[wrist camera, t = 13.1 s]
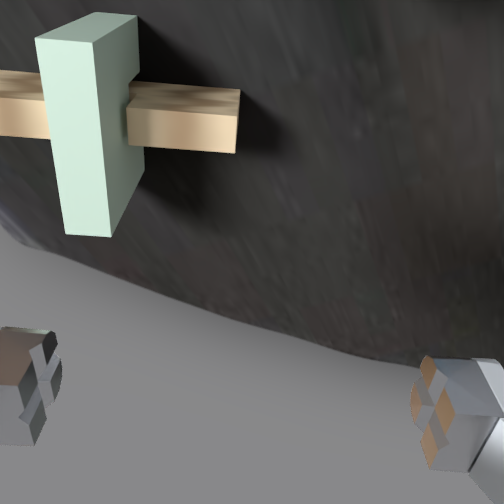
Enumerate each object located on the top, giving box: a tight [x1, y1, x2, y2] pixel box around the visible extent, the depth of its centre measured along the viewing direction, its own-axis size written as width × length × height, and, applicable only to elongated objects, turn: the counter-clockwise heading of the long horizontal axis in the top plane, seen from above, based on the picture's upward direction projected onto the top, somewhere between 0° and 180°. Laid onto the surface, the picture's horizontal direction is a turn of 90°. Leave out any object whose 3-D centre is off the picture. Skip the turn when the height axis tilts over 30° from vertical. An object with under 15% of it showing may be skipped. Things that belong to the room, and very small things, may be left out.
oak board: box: [0, 70, 240, 153], centre depth 41 cm, size 22×3×8 cm, turn 86°
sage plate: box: [35, 12, 145, 237], centre depth 39 cm, size 4×14×13 cm, turn 176°
